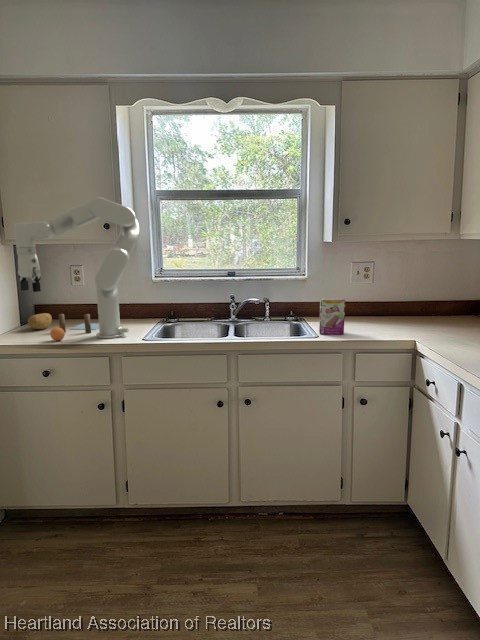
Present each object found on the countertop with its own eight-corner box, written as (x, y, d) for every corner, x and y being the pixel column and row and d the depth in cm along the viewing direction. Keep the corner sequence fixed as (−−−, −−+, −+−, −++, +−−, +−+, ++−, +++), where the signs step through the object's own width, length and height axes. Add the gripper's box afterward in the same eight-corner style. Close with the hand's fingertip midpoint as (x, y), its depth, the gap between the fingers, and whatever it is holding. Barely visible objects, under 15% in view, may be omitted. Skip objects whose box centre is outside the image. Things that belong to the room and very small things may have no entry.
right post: (92, 332, 212) (90, 314, 211) (89, 333, 210) (88, 315, 208) (87, 332, 213) (85, 314, 211) (84, 333, 210) (83, 315, 208)
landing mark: (107, 324, 232) (107, 323, 232) (95, 329, 218) (95, 329, 218) (82, 323, 233) (82, 323, 233) (69, 329, 220) (69, 328, 220)
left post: (66, 331, 214) (65, 313, 212) (64, 333, 212) (62, 314, 210) (61, 331, 214) (60, 313, 213) (59, 332, 212) (57, 314, 210)
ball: (67, 339, 199) (66, 326, 198) (60, 342, 193) (59, 329, 192) (55, 338, 200) (54, 325, 199) (48, 341, 194) (46, 328, 193)
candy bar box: (319, 334, 201) (320, 299, 198) (318, 332, 206) (319, 298, 203) (344, 335, 200) (345, 299, 197) (342, 332, 205) (344, 298, 202)
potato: (58, 326, 228) (57, 311, 226) (41, 332, 214) (40, 316, 213) (41, 325, 229) (40, 310, 228) (24, 331, 216) (22, 315, 214)
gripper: (45, 251, 186) (49, 291, 190) (24, 251, 196) (28, 288, 200) (28, 252, 180) (33, 293, 184) (7, 251, 190) (12, 290, 194)
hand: (30, 290), depth 192 cm, fingers open, 9 cm apart
